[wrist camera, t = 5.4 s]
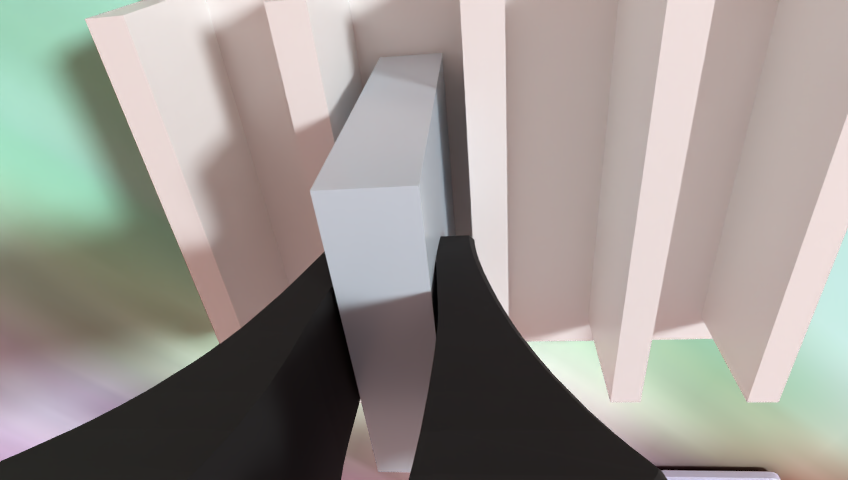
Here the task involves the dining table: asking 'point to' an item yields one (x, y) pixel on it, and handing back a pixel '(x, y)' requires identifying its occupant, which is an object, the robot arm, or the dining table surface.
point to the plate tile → (390, 242)
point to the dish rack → (522, 156)
